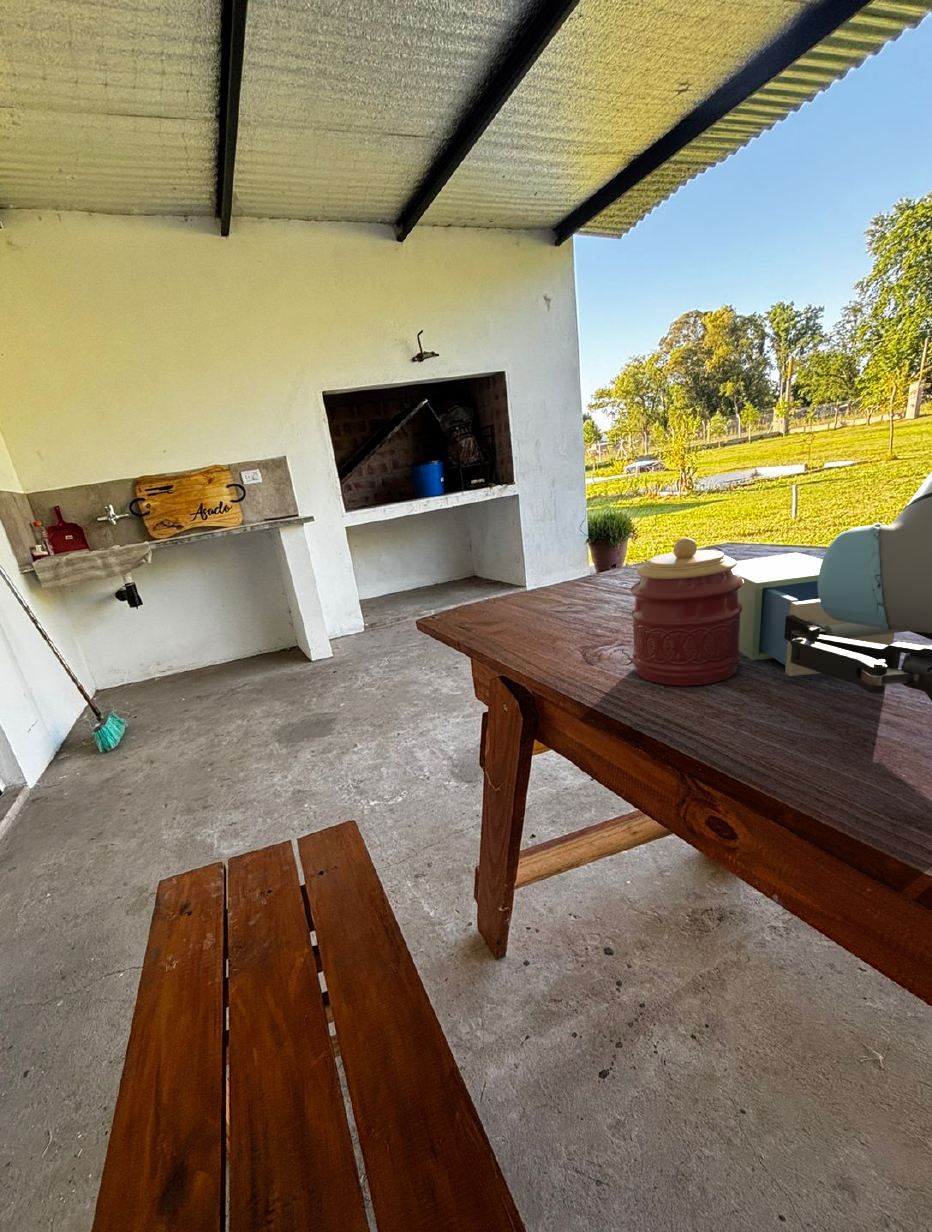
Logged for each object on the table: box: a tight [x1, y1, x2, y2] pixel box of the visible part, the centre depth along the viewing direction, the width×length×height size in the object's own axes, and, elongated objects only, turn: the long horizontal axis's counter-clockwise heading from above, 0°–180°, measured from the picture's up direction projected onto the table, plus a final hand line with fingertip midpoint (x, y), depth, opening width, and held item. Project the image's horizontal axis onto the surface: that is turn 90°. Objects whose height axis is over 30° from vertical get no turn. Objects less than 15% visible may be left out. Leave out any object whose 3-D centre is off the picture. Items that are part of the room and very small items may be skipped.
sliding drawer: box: [759, 581, 908, 677], centre depth 64 cm, size 18×10×9 cm, turn 172°
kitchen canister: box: [630, 537, 744, 687], centre depth 69 cm, size 13×13×18 cm
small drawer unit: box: [732, 552, 823, 661], centre depth 74 cm, size 15×12×11 cm
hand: (843, 620), depth 60 cm, fingers open, 11 cm apart
